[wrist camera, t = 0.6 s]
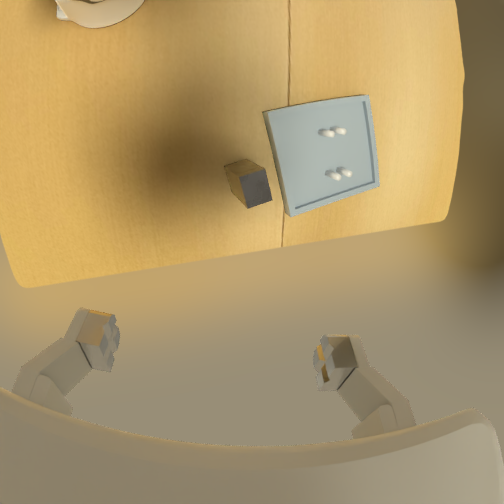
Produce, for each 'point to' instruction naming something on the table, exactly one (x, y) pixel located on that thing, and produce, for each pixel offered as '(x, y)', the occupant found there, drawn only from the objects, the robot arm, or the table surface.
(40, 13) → the table surface
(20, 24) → the table surface
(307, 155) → the tray
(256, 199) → the drive
